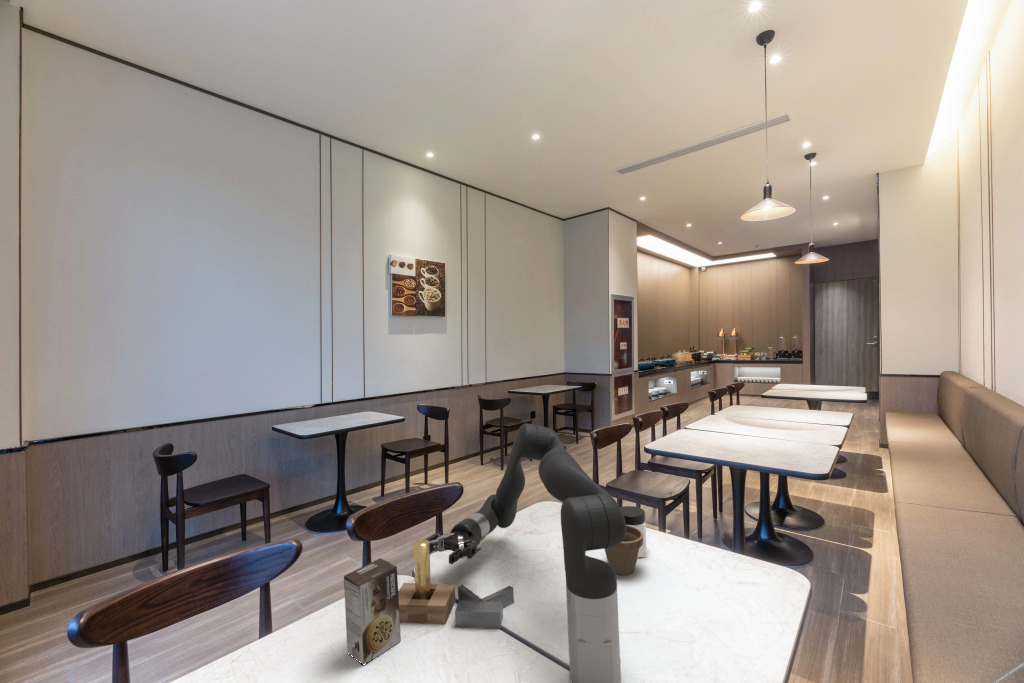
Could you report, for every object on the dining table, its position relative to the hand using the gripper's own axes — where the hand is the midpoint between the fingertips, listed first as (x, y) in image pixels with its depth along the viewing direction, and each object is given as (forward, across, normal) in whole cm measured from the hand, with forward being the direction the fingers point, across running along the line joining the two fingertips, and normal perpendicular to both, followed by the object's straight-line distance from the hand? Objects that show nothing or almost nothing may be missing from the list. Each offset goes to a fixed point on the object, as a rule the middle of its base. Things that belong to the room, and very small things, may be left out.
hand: (435, 557), depth 109 cm
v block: (0, +13, +10) cm, 17 cm away
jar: (-42, +38, +10) cm, 58 cm away
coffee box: (+20, -2, +11) cm, 22 cm away
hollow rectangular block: (+5, 0, +10) cm, 12 cm away
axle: (+5, 0, +10) cm, 12 cm away
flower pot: (-31, +38, +11) cm, 51 cm away
